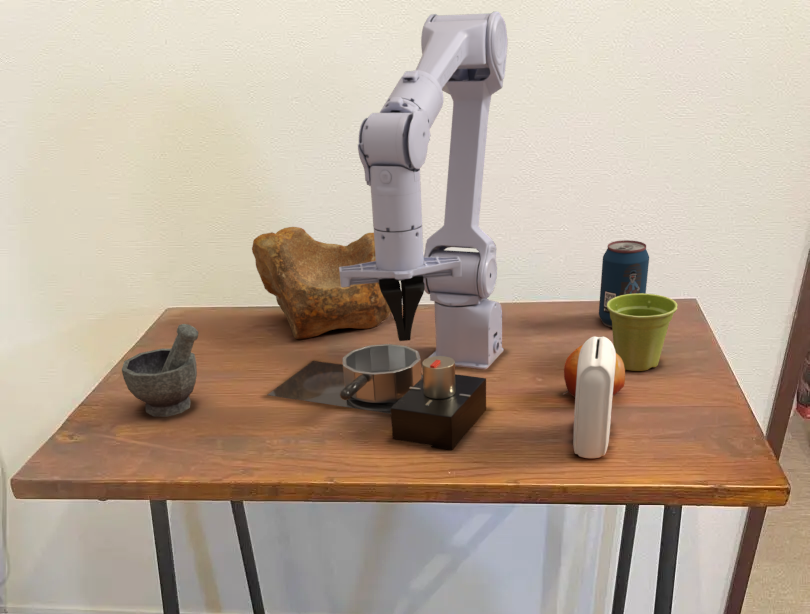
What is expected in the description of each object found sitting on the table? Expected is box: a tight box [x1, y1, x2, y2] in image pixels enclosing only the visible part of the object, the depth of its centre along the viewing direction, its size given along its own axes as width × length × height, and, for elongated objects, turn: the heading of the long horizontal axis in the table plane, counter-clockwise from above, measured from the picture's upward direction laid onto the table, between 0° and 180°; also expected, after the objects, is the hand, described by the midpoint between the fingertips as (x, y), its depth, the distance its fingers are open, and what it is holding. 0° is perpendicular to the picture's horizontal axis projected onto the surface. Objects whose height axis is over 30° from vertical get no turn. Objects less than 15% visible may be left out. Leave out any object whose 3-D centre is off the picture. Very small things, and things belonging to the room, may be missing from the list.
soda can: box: [598, 239, 650, 328], centre depth 136 cm, size 7×7×12 cm
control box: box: [390, 373, 487, 451], centre depth 110 cm, size 12×8×5 cm
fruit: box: [562, 344, 626, 398], centre depth 115 cm, size 8×8×8 cm
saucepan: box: [340, 343, 422, 404], centre depth 117 cm, size 16×10×5 cm, turn 155°
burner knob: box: [421, 356, 456, 399], centre depth 108 cm, size 4×4×4 cm
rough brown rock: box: [251, 226, 392, 340], centre depth 140 cm, size 23×17×15 cm
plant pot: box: [607, 293, 678, 372], centre depth 122 cm, size 9×9×9 cm
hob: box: [267, 360, 423, 415], centre depth 123 cm, size 21×13×1 cm, turn 65°
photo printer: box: [572, 335, 616, 459], centre depth 103 cm, size 10×4×12 cm, turn 167°
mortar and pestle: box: [121, 323, 199, 418], centre depth 117 cm, size 11×9×12 cm
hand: (404, 338), depth 109 cm, fingers closed
